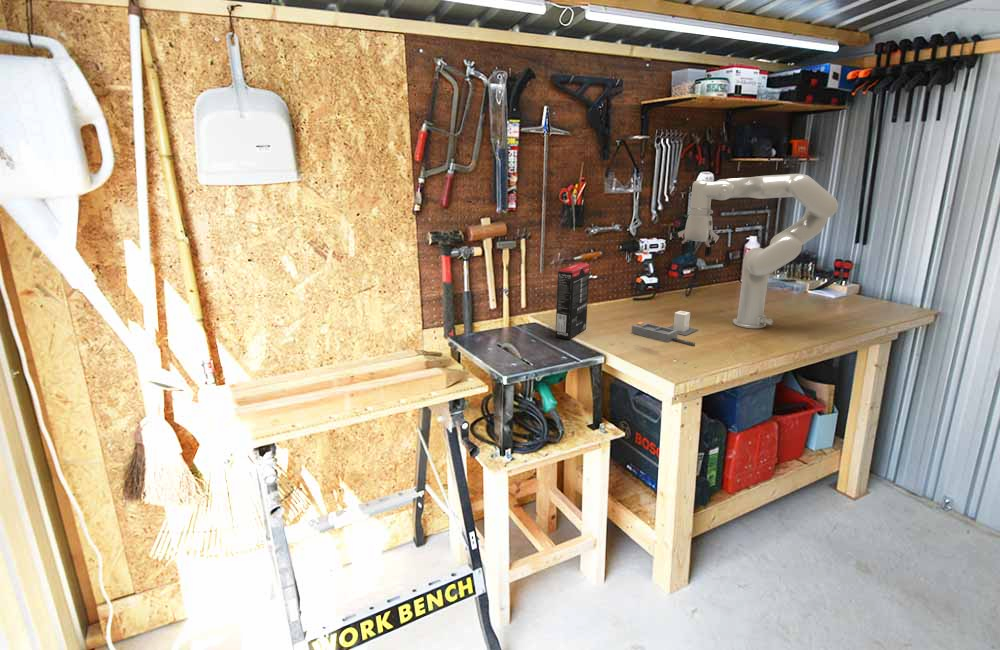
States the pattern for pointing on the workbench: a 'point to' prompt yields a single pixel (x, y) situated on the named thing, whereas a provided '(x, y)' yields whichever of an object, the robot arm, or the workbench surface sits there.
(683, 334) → the mat
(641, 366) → the workbench surface
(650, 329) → the power strip
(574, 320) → the graphics card box
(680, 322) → the block
